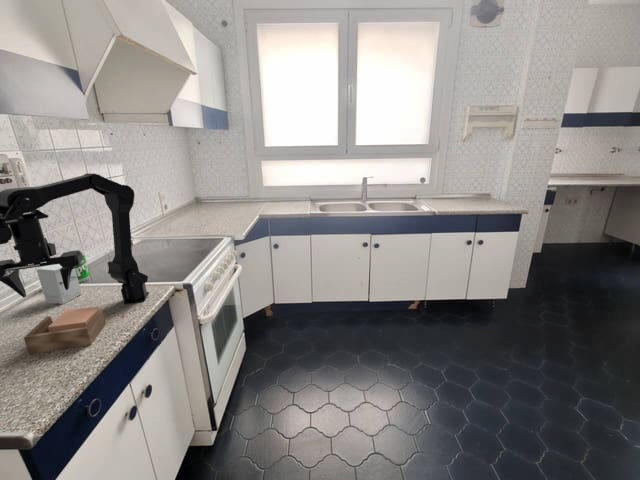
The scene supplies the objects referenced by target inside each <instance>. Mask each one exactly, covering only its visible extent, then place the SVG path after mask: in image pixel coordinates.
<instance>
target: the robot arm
mask: <svg viewBox="0 0 640 480" xmlns="http://www.w3.org/2000/svg"><path fill="white" fill-rule="evenodd" d="M87 190H93V191H94V192H96V193H98V194H100V195H102V196H104V199H105V200H104V201H105V204H106V205H107V208H109V211H110V212H111V221H112V234H113V248H114V257H113V259H112V261H111V260H110V261H107V267H108V271H107V274H109V276H110V277H111V278H112V279H113V280H115V281H116V282H117V283H118V284H121V289H120V292H121V296H122V300H124V301H123V304H124V305H126V304H135V303H140V302H145V301H146V299H147V297H148V295H149V293H150V292H149V291H148V290H147V287H146V283H147V282H148V278H149V276H148V275H146V274H145V273H142V272H140V269H139V266H138V263H137V261H136V259H135V257H134V256H133V249H132V248H133V247H132V234H131V220H130V219H131V218H130V212H131V210H132V208H133V206H134V201H135V191H134V189H133V188H132V187H131V186H129V185H127V184H120V183H119V182H116V181H114V180H110V179H108V178H106V177H104V176H102V175H101V174H98V173H84V174H83V175H79V176H74V177H72V178H67V179H63V180H59V181H56V182H55V181H54V182H51V183H47V184H45V185H41V186H26V187H15V188H6V189H3V190H1V191H0V245H6V244H8V243H9V241H10V240H12V239H13V242H14V246H13V249H14V251H17V253H18V254H17V255H18V257H19V259H20V260H19V261H18V262H16V261H15V260H14V259H3V260H0V282H1V283H2V284H4V285H6V286H7V287H9V288H11V289H12V290H13V291H15V292H16V293H17V294H18V295H19V296H21V297H22V298H26V297H27V293H26V289H25V286H24V284H23V282H22V280H21V277H20V270H27V269H32V268H33V269H34V268H42V267H45V266H48V265H55V264H60V266H62V268H61V269H60V272H61V276H62V280H63V284H64V287H65V289H66V290H68V289H69V283H70V276H71V272H72V269H74V268H75V267H76V266H77V265H79V264H80V263H81V262H82V260H83V255H82V253H81V252H82V251H81V250H79V251H75V250H70V251H71V252H69V251H64V252H63V253H61V255H60V256H56V255H57V249H56V244H55V243H52V242H48V240H47V238H46V237H45V235H44V232H43V229H42V226H41V222H40V220H43V219H48V218H49V216H50V215H49V214H46V213H44V212H42V211H41V210H39V208H40V209H41V208H42V207H44V206H46V204H48V203H49V202H52V201H53V200H57V199H59V198H60V199H61V198H64V197H67V196H71V195H74V194H78V193H81V192H84V191H87ZM80 251H81V252H80ZM55 256H56V257H55Z"/></svg>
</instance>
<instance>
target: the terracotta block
mask: <svg viewBox="0 0 640 480" xmlns="http://www.w3.org/2000/svg"><path fill="white" fill-rule="evenodd" d="M99 309H100V306H91V307H84V308H83V307H82V308H76V309H69V310H64V311H63V312H62V313H61V314H60V315H59V316H58V317H57V318H55V319H54V320H53V321H52V322H53V323H52V324H51V325H49V326H48V329H49V332H55V331H61V330H68V329H75V328H82V327H85V325H86V324H87V323H88V322H89V321H90V319H91V318H92V317H93V316H94V314H95V313H96V312H97V311H98V310H99Z"/></svg>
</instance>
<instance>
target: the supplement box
mask: <svg viewBox="0 0 640 480" xmlns="http://www.w3.org/2000/svg"><path fill="white" fill-rule="evenodd" d="M61 268H62V266H60V264H55V265H48V266H41V267H38V268H37V269H36V272H37V273H36V274H37V277H38V280H39V283H40V285H41V286H40V287H41V289H42V291H43V292H42V293H43V295H44V298H45V302H46V303H50V304H56V303H60V304H59V305H64V304H66V303H67V302H69V300H70V301H71V299H72V300H73V298H74V299H76V298H78V297H80V296H82V295H83V293H82V288H81V285H80V283H79V281H78V278H77V274H76V270H75V268H74V269H72V272H71V276H70V283H69V289H68V290H66V289H65V287H64V284H63V280H62V276H61V272H60V269H61ZM81 294H82V295H81ZM79 295H80V296H79ZM77 296H78V297H77ZM75 297H76V298H75Z"/></svg>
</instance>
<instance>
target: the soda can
mask: <svg viewBox="0 0 640 480" xmlns="http://www.w3.org/2000/svg"><path fill="white" fill-rule="evenodd" d="M71 251H72V250H69V251H68V252H71ZM74 251H80V252H81V253H82V255H83V260H82V262H81V263H80V264H79V265H77V266H76V267H75V270H76V274H77V278H78V281H79V284H82V283H85V282H88V280H89V279H90V277H91V274H90V271H89V268H88V263H87V260H86V255H85V253H84V252H83V251H81V250H80V249H79V250H77V249H76V250H74Z"/></svg>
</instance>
